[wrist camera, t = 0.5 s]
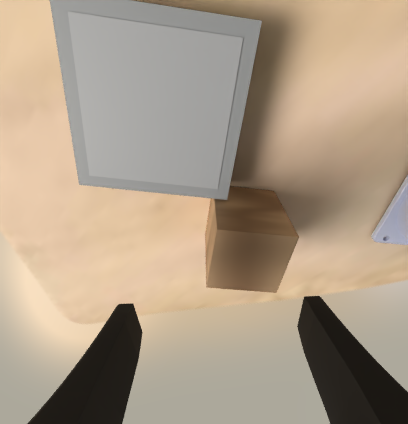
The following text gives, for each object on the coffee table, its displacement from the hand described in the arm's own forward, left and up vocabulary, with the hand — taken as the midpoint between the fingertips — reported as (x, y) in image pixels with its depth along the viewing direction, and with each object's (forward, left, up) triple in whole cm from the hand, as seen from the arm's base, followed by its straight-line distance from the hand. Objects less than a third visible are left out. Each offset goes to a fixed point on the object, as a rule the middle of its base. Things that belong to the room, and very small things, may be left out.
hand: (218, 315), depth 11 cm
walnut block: (-2, +1, -10) cm, 10 cm away
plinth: (+4, -6, -9) cm, 12 cm away
